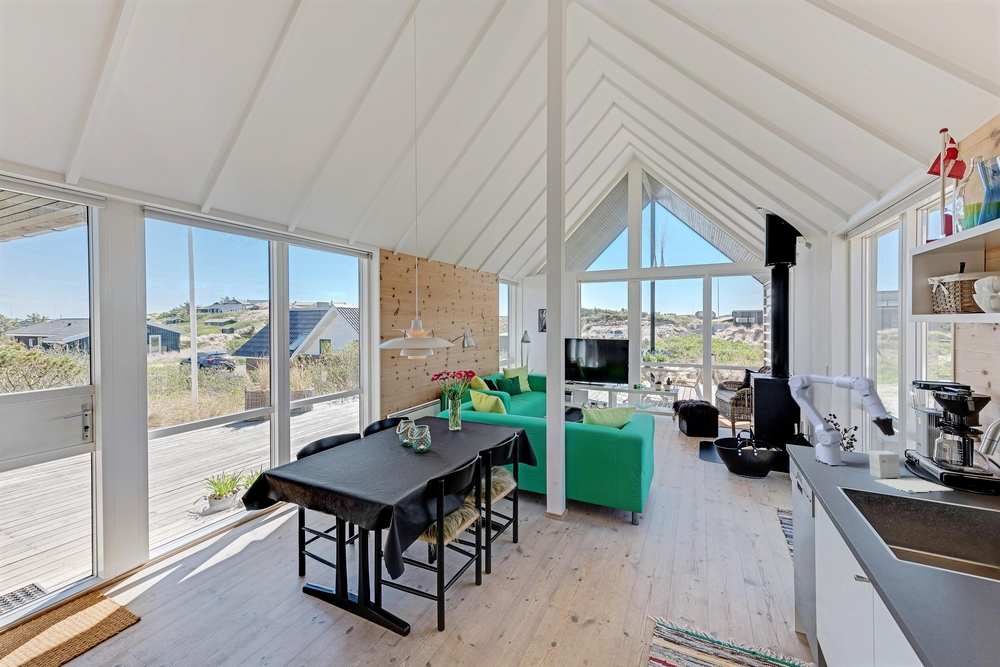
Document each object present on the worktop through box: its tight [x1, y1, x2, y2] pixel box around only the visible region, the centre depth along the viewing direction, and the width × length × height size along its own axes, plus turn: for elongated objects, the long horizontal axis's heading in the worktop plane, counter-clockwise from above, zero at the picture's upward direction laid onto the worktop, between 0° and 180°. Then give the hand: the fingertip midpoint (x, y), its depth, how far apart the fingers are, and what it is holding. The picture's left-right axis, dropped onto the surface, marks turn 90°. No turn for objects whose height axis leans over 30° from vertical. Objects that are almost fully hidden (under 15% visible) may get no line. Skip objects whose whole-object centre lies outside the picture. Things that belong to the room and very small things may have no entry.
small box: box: [868, 449, 901, 480], centre depth 173 cm, size 8×6×10 cm
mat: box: [873, 477, 954, 493], centre depth 162 cm, size 14×18×1 cm
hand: (889, 435), depth 174 cm, fingers open, 7 cm apart
